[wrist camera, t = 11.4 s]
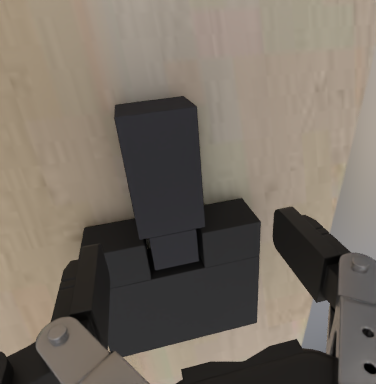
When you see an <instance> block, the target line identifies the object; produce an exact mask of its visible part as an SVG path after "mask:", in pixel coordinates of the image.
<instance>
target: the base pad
mask: <svg viewBox="0 0 376 384" xmlns="http://www.w3.org/2000/svg"><path fill="white" fill-rule="evenodd" d="M204 217H205V227H202V228H197V229H196V232H197V244H198V255H199V261H197V262H192V263H188V264H183V265H179V266H174V267H169V268H165V269H160V270H155V268H154V263H153V257H152V252H151V249H147V245H146V240H145V239H142V240H140V239H139V235H138V231H137V226H136V221H135V219H130V220H125V221H120V222H114V223H109V224H104V225H98V226H93V227H88V228H84V232H83V238H82V243H81V248H82V247H83V246H88V245H94V244H99V243H100V244H101V246H102V249H103V253H104V256H105V260H106V263H107V266H108V270H109V275H110V304H109V328H108V346H109V349H110V352H112V351H116V352H117V353H119V354H120V355H121V356H122V357H125V356H129V355H133V354H137V353H140V352H144V351H148V350H152V349H156V348H160V347H164V346H168V345H172V344H176V343H179V342H183V341H187V340H191V339H195V338H199V337H203V336H207V335H211V334H215V333H219V332H222V331H226V330H230V329H234V328H238V327H242V326H246V325H250V324H254V323H257V305H258V279H259V253H260V227H261V221H260V220H259V219H258V218H257V216H256V215H255V214H254V213H253V211H252V210H251V209H250V208H249V206H248V205H247V204H246V203H245V202H244V200H243V199H242V198H241V199H236V200H231V201H225V202H220V203H215V204H209V205H204ZM80 253H81V249H80ZM79 259H80V254H79Z"/></svg>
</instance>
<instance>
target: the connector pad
mask: <svg viewBox="0 0 376 384" xmlns="http://www.w3.org/2000/svg"><path fill="white" fill-rule="evenodd" d="M114 119H115V124H116V128H117V133H118V138H119V143H120V148H121V153H122V158H123V162H124V167H125V172H126V177H127V182H128V187H129V192H130V197H131V201H132V206H133V211H134V216H135V221H136V226H137V231H138V235H139V239H140V240H142V239H147V238H149V241H150V247H151V252H152V257H153V263H154V268H155V270H160V269H165V268H169V267H174V266H179V265H183V264H188V263H192V262H197V261H199V255H198V244H197V232H196V229H197V228H202V227H205V217H204V203H203V189H202V175H201V160H200V146H199V132H198V118H197V107H196V106H195V105H194V104H193V103H191V102H190V101H189V100H188V99H186V98H185V97H184V96H181V97H173V98H166V99H158V100H150V101H142V102H134V103H127V104H119V105H115V117H114Z"/></svg>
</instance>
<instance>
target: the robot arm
mask: <svg viewBox="0 0 376 384" xmlns="http://www.w3.org/2000/svg"><path fill="white" fill-rule="evenodd" d="M273 242H274V245H275V247H276V249H277V251H278V252H279V253H280V255H281V256H282V257H283V259H284V260H285V261H286V263H287V264H288V265H289V267H290V268H291V269H292V271H293V272H294V273H295V275H296V276H297V277H298V279H299V280H300V281H301V283H302V284H303V285H304V287H305V288H306V289H307V291H308V292H309V293H310V295H311V296H312V297H313V299H314V300H315V301H316V303H317V302H321V301H325V300H327V301H328V302H329V303H330V307H329V316H328V332H327V347H326V353H323V352H321V351H317V350H313V349H304V348H302V347H301V346H300V344H299V342H298V340H297V339H295V340H291V341H287V342H284V343H280V344H276V345H272V346H269V347H267V348H266V349H264V350H262V351H261V352H259V353H257V354H256V355H254V356H252V357H251V358H249V359H247V360H246V361H243V362H208V363H204V364H200V365H196V366H192V367H189V368H185V369H181V371H182V377H183V380H181V381H179V382H178V383H176V384H376V261H375V260H374V259H372V258H370V257H368V256H366V255H363V254H360V253H351V252H350V251H349V250H348V249H346V248H345V247H344V246H343V245H342V244H341V243H340V242H339V241H338V240H337V239H336V238H335V237H333V236H332V235H331V234H329V232H328V231H327V230H326V229H325V228H323V226H321V225H320V224H319V223H318V222H317V221H316V220H314V219H312V218H310V217H308V216H306V215H301V214H300V213H299V212H298V211H297V210H296V209H295V208H293V207H287V208H282V209H277V210H275V212H274V224H273ZM109 304H110V275H109V270H108V266H107V263H106V260H105V256H104V253H103V249H102V246H101V244H100V243H99V244H94V245H88V246H83V247H82V248H81V253H80V259H78V260H73V261H70V263H69V264H68V265H67V267H66V268H65V269H64V271H63V275H62V279H61V283H60V287H59V291H58V295H57V299H56V303H55V307H54V311H53V315H52V319H51V322H50V323H49V324H48V325H46V326H45V327H44V328H43V329H42V330H41V332H40V333H39V335H38V337H37V339H36V342H34V343H33V344H31V345H30V346H28V347H26V348H24V349H22V350H20V351H18V352H16V353H14V354H12V355H10V356H8V357H6V356H5V354H4V353H2V352H0V384H149V383H148V382H147V381H146V380H145V379H144V378H143V377H142V376H141V375H140V374H139V373H138V372H137V371H136V370H135V369H134V368H133V367H132V366H131V365H130V364H129V363H128V362H127V361H126V360H125V359H124V358H123V357H122V356H121V355H120V354H119V353H117V352H116V351H112V352H111V353H110V352H109V351H108V328H109Z"/></svg>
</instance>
